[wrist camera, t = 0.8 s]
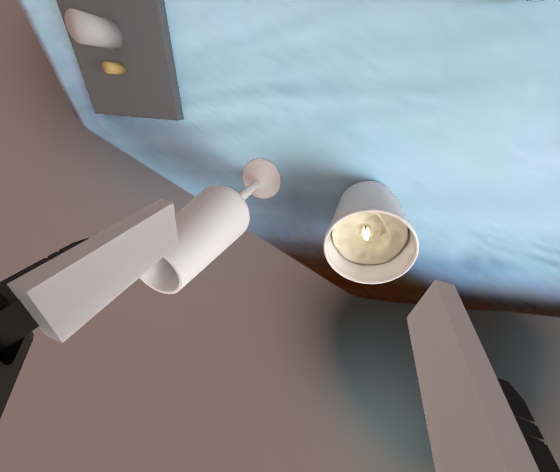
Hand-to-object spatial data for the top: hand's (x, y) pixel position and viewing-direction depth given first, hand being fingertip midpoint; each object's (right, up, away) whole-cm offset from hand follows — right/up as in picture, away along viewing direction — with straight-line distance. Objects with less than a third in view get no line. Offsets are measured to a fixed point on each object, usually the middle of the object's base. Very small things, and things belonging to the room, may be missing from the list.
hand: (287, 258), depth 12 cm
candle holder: (+13, +6, +24) cm, 28 cm away
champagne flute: (-3, +10, +26) cm, 29 cm away
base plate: (-23, +29, +21) cm, 43 cm away
